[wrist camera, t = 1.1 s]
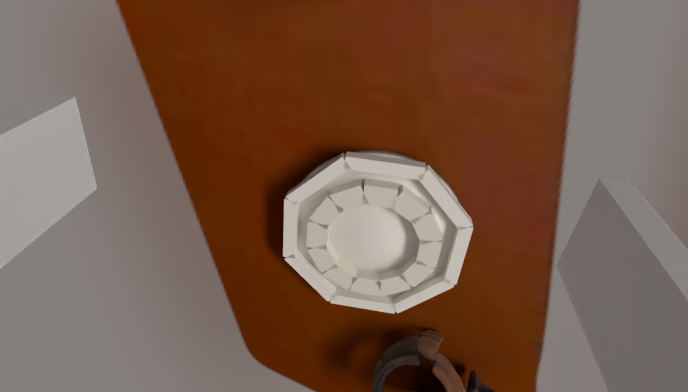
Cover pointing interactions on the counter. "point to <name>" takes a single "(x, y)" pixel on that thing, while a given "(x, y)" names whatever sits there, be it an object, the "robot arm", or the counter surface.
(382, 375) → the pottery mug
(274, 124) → the counter surface
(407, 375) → the counter surface
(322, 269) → the dish
